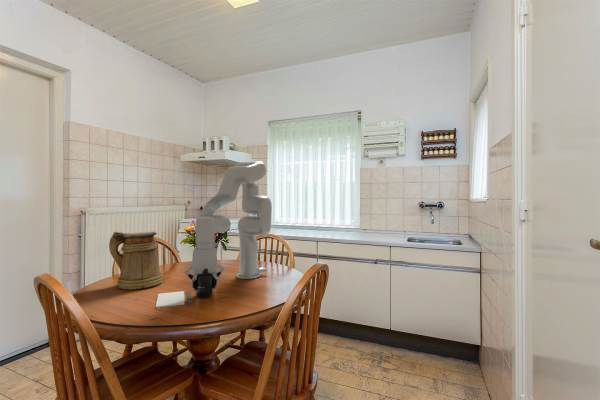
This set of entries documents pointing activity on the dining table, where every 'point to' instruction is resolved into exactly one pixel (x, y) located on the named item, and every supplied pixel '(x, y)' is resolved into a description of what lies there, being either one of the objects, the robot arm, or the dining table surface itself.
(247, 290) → the dining table surface
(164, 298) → the white tile with strip
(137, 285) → the tankard
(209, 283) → the supplement bottle
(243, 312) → the dining table surface
